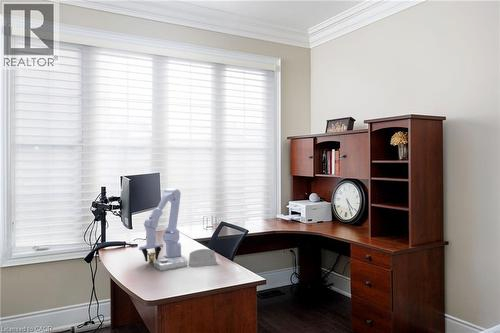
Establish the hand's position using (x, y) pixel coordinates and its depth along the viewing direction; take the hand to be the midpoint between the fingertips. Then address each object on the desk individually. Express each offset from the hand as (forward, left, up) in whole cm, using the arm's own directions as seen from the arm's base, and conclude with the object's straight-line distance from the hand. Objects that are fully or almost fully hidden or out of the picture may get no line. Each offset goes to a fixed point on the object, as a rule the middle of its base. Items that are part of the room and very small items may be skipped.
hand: (151, 260), depth 224 cm
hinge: (-25, +20, -2) cm, 32 cm away
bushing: (0, 0, -2) cm, 2 cm away
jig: (-7, +13, -2) cm, 15 cm away
